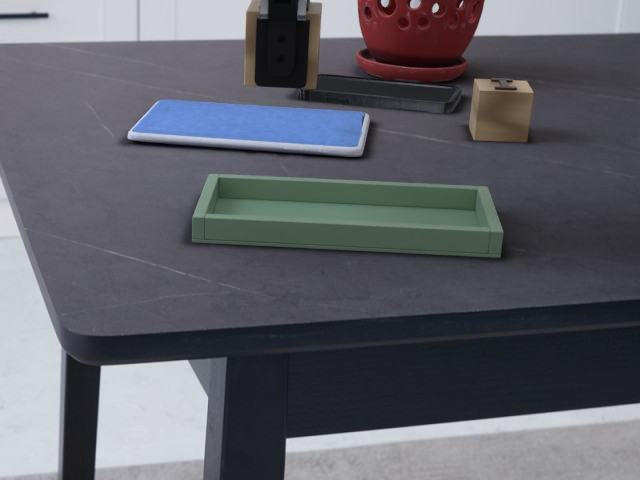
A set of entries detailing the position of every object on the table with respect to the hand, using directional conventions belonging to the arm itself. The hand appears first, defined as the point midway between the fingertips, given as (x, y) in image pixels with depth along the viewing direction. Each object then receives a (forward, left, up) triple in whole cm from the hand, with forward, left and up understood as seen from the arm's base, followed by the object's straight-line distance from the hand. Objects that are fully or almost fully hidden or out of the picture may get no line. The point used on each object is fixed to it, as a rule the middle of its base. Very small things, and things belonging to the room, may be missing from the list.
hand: (282, 74), depth 73 cm
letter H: (0, 0, 0) cm, 0 cm away
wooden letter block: (-18, -26, -10) cm, 33 cm away
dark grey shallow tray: (-8, -38, -10) cm, 40 cm away
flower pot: (-12, -50, -10) cm, 52 cm away
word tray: (-5, 0, -10) cm, 11 cm away
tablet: (+3, -23, -10) cm, 25 cm away
